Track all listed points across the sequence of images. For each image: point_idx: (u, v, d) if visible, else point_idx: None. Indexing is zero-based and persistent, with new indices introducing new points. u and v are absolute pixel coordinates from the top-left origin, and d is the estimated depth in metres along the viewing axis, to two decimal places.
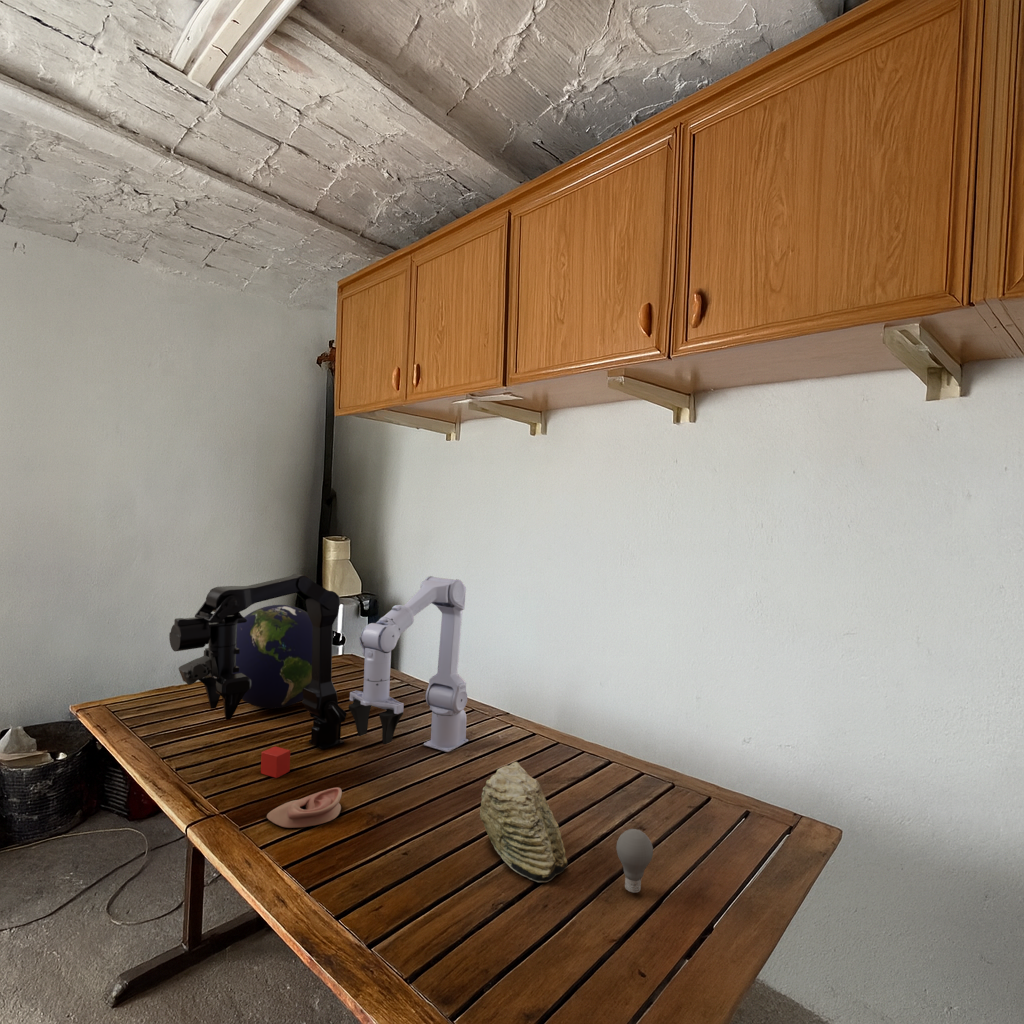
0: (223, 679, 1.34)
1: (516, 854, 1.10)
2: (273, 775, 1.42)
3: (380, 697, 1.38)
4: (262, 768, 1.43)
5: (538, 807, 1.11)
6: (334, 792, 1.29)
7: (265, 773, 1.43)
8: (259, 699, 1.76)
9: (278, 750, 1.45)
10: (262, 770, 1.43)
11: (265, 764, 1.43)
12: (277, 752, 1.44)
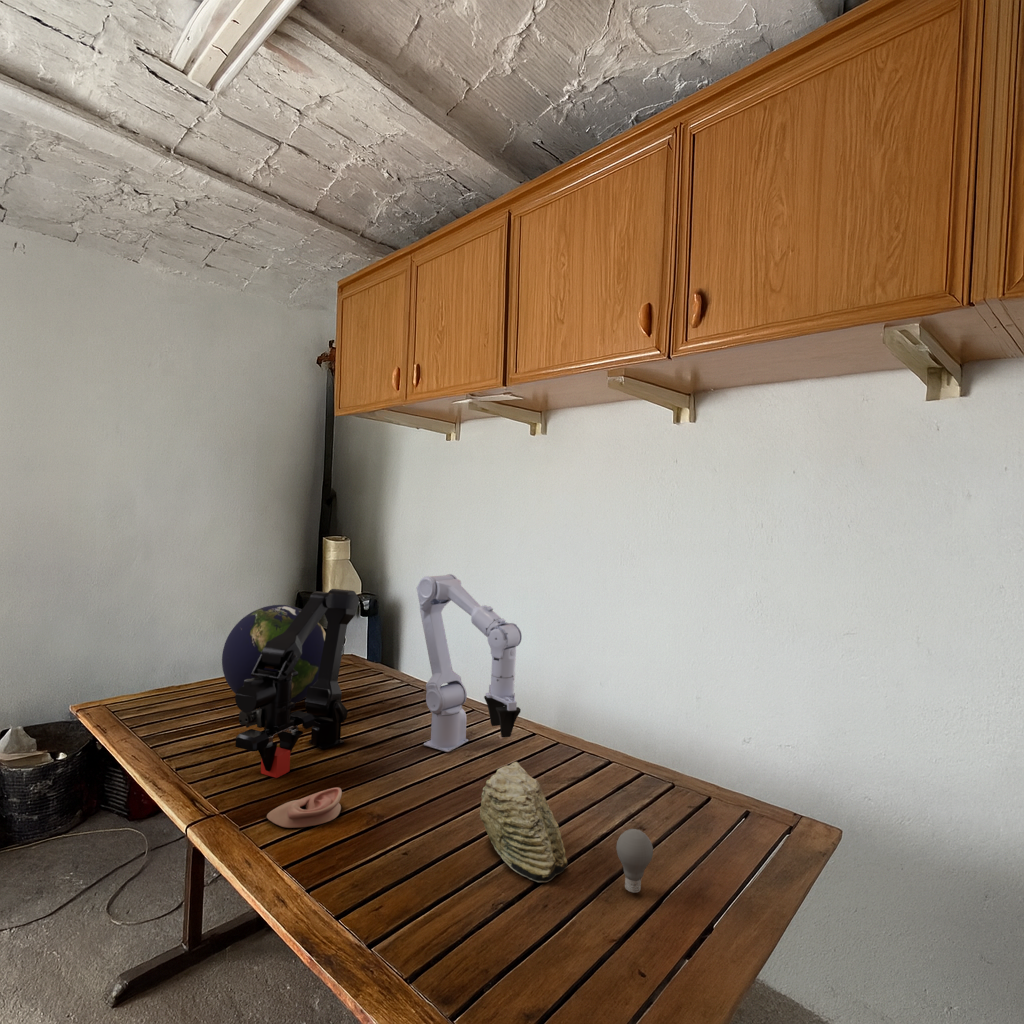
0: None
1: (516, 854, 1.10)
2: (273, 775, 1.42)
3: (500, 693, 1.50)
4: (262, 768, 1.43)
5: (538, 807, 1.11)
6: (334, 792, 1.29)
7: (265, 773, 1.43)
8: None
9: (278, 750, 1.45)
10: (262, 770, 1.43)
11: None
12: (277, 752, 1.44)
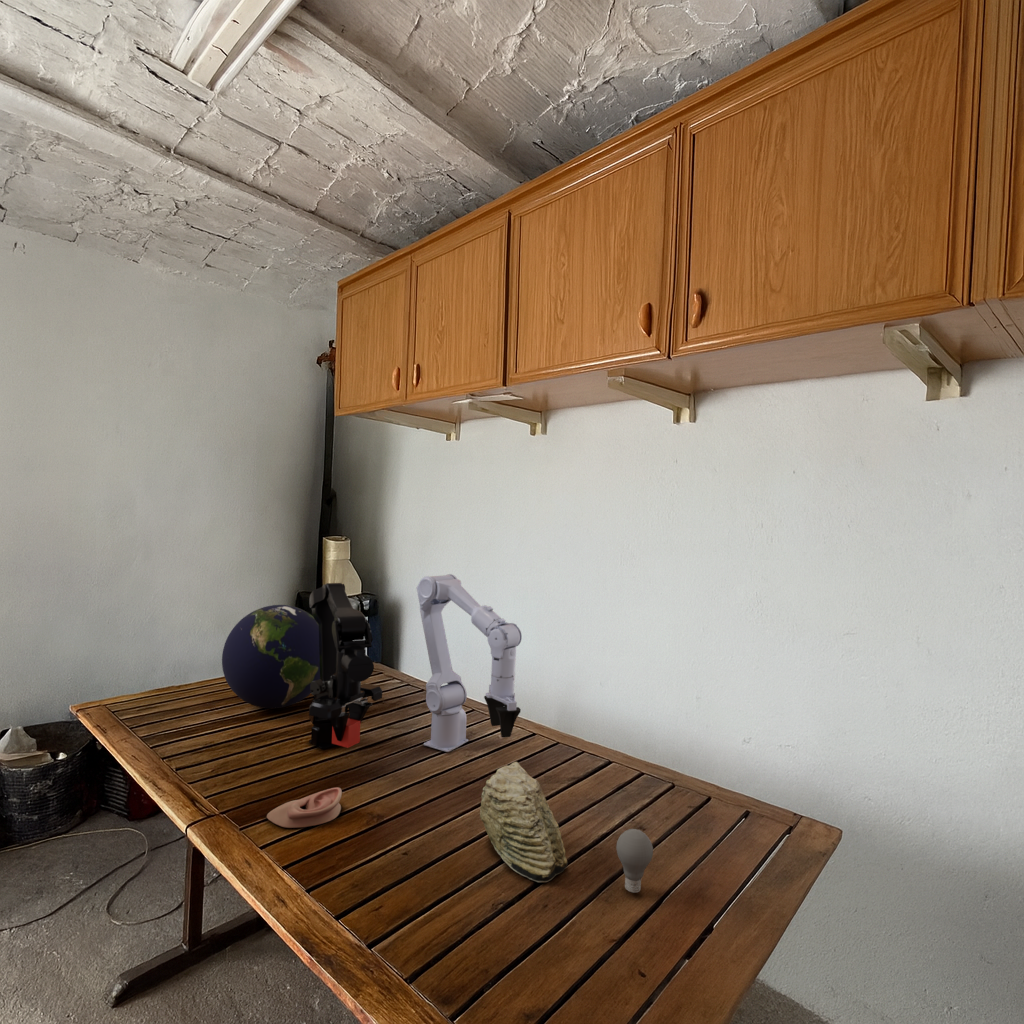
0: None
1: (516, 854, 1.10)
2: (344, 745, 1.43)
3: (500, 693, 1.50)
4: (333, 738, 1.44)
5: (538, 807, 1.11)
6: (334, 792, 1.29)
7: (336, 743, 1.44)
8: (259, 699, 1.76)
9: (348, 721, 1.45)
10: (333, 740, 1.44)
11: None
12: (347, 722, 1.45)
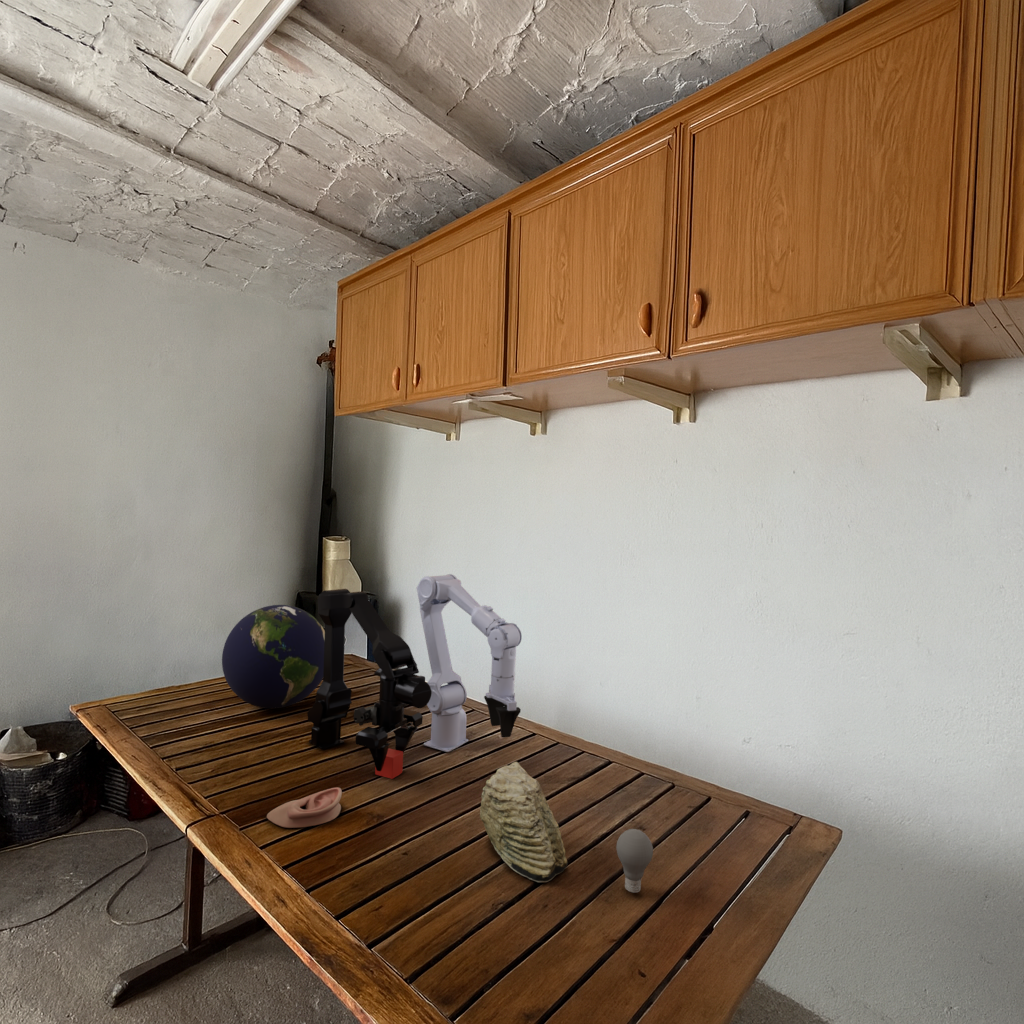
0: (361, 730, 1.40)
1: (516, 854, 1.10)
2: (389, 776, 1.44)
3: (500, 693, 1.50)
4: None
5: (538, 807, 1.11)
6: (334, 792, 1.29)
7: (380, 774, 1.45)
8: (259, 699, 1.76)
9: (391, 751, 1.47)
10: (377, 771, 1.45)
11: None
12: (391, 753, 1.46)
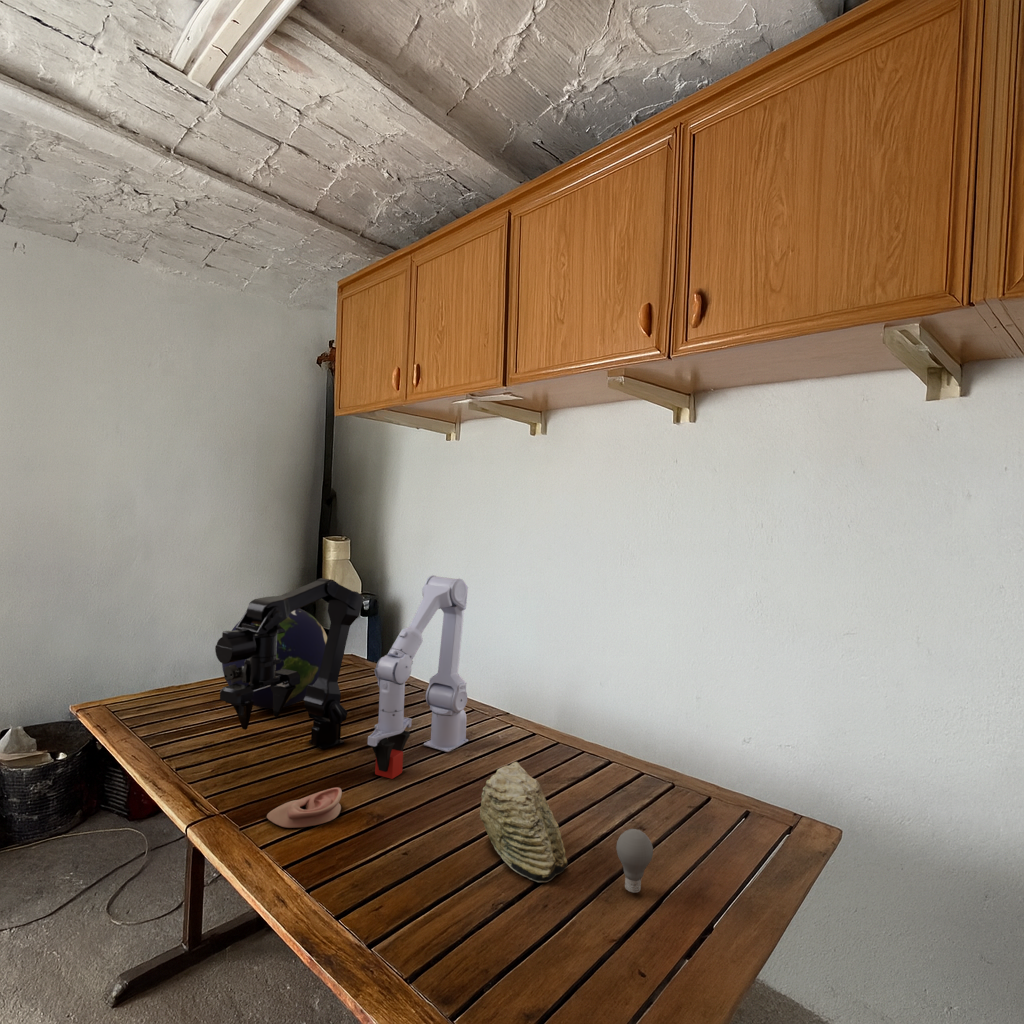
0: None
1: (516, 854, 1.10)
2: (389, 776, 1.44)
3: (379, 726, 1.44)
4: (377, 769, 1.45)
5: (538, 807, 1.11)
6: (334, 792, 1.29)
7: (380, 774, 1.45)
8: (259, 699, 1.76)
9: (391, 751, 1.47)
10: (377, 771, 1.45)
11: None
12: (391, 753, 1.46)
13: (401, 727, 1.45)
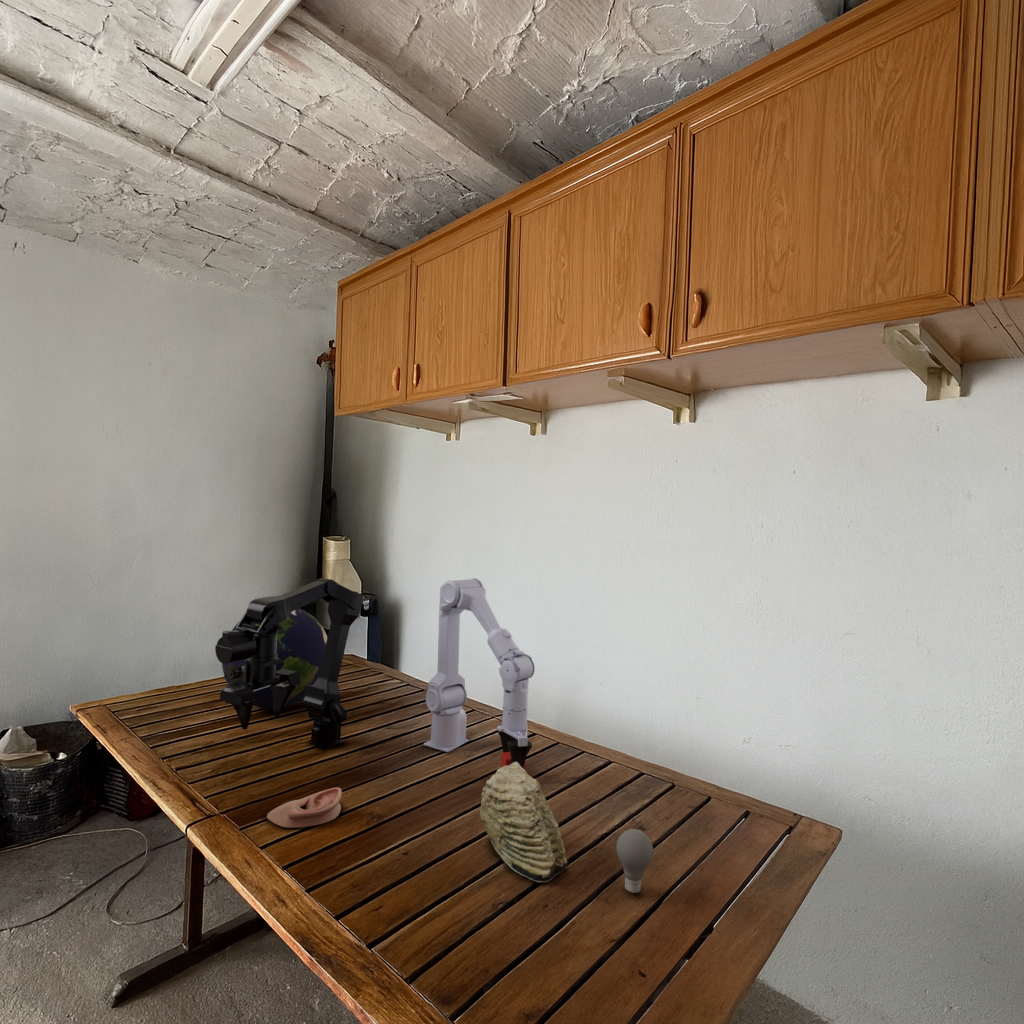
0: None
1: (516, 854, 1.10)
2: None
3: (512, 727, 1.45)
4: None
5: (538, 807, 1.11)
6: (334, 792, 1.29)
7: None
8: (259, 699, 1.76)
9: None
10: None
11: None
12: None
13: None
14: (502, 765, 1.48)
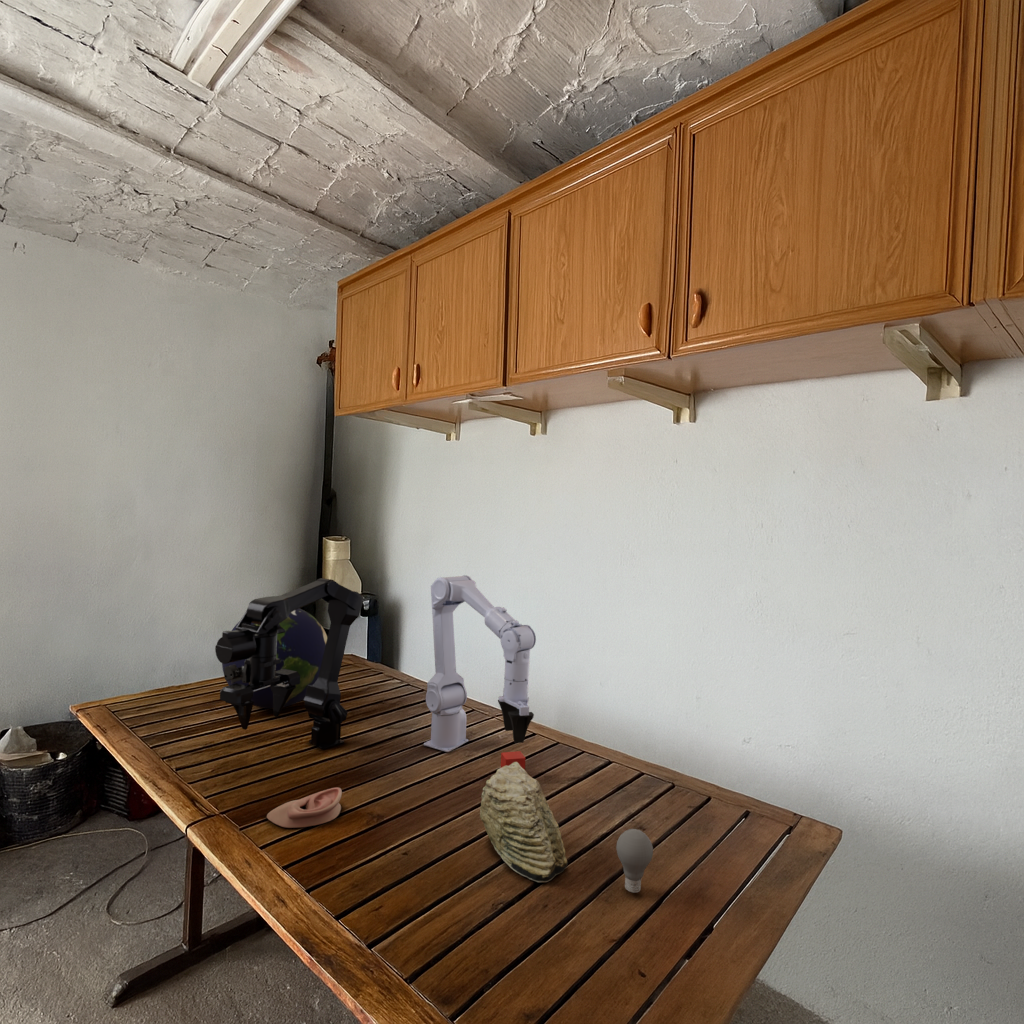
0: None
1: (516, 854, 1.10)
2: None
3: (513, 697, 1.45)
4: None
5: (538, 807, 1.11)
6: (334, 792, 1.29)
7: None
8: (259, 699, 1.76)
9: (513, 754, 1.48)
10: None
11: None
12: (516, 755, 1.48)
13: None
14: (502, 765, 1.48)
